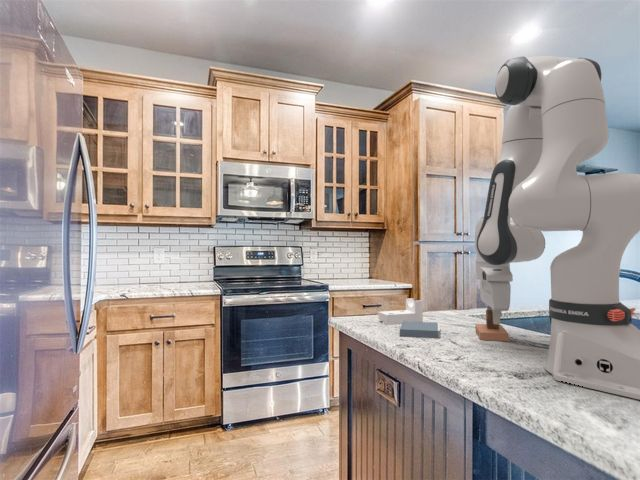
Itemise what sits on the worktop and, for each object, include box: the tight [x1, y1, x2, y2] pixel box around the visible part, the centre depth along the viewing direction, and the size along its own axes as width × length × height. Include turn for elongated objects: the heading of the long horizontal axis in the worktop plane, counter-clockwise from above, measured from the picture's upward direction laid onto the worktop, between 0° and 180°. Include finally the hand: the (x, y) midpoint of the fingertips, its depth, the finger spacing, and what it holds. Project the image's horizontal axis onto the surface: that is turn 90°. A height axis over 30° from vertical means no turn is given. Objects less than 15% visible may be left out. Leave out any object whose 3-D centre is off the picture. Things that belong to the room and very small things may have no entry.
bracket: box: [377, 297, 424, 326], centre depth 130 cm, size 13×7×8 cm, turn 103°
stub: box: [475, 309, 510, 342], centre depth 107 cm, size 7×12×7 cm, turn 163°
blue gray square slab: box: [399, 321, 441, 339], centre depth 112 cm, size 11×12×2 cm
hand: (494, 322), depth 107 cm, fingers open, 4 cm apart
